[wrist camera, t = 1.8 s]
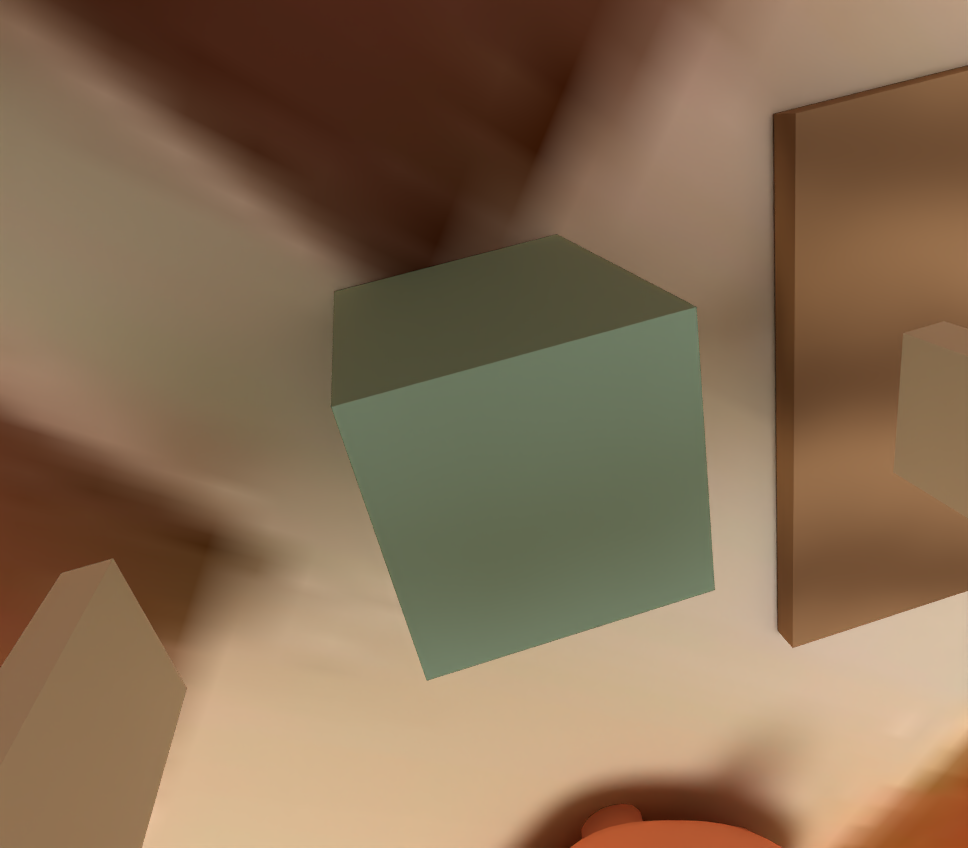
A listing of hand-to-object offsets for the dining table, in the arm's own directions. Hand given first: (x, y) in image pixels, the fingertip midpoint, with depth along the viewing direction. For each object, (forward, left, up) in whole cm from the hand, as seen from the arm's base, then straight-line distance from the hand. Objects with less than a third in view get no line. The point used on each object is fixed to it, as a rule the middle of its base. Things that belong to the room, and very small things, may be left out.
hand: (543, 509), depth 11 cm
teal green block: (0, 0, -6) cm, 6 cm away
